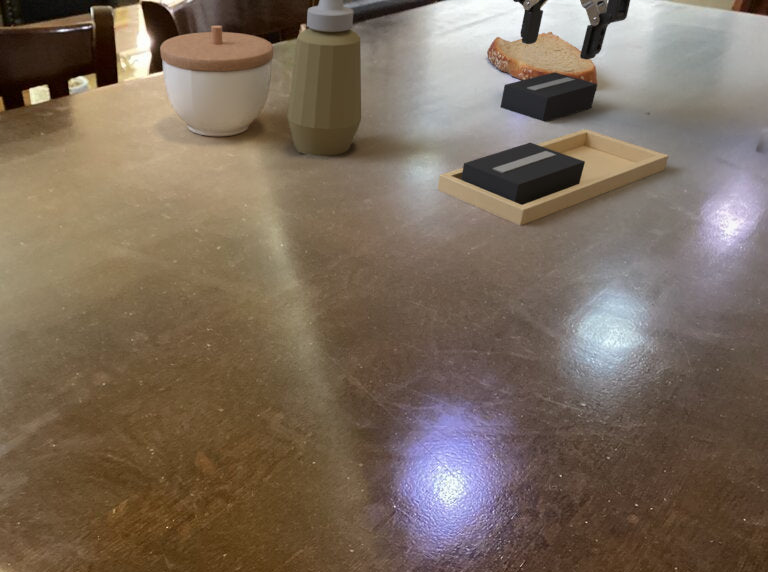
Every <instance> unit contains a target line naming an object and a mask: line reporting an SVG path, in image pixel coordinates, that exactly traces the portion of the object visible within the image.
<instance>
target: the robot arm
mask: <svg viewBox="0 0 768 572" xmlns="http://www.w3.org/2000/svg"><path fill="white" fill-rule="evenodd" d="M512 1H513V2H514V3H519V4H520V5H521V6H522V8H523V9H524V12H523V17H522V22H521V23H522V24H521V28H520V38H521V39H522V43H525V44H531V43H535V42H536V41H537V38H538V35H539V34H540V29H541V24H542V19H543V14H544V10H543V9H541V8H542V7H543V6H544V5H546V3H547V2H549V0H512ZM579 2H580V4H581V5H580V6H581V7H582V8H583V9H584V10H585V11H586V15H587V19H588V21H589V24H588V25H587V26H586V31H585V35H584V38H583V43H582V46H581V50H580V51H581V54H580V57H581V58H582V59H586V60H587V59H590V60H592V59H594V58H596V55H598V54H600V52H601V51H602V48H603V44H604V41H605V37H606V32H607V28H608V27H609V25H610V24H612V23H618V22H622V21H625V20H626V19H627V17H628V13H629V8H630V3H631V0H579Z"/></svg>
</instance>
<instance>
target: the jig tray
mask: <svg viewBox="0 0 768 572" xmlns="http://www.w3.org/2000/svg"><path fill="white" fill-rule="evenodd" d="M535 144H536V143H535ZM536 145H539V146H542V147H545V148H547V149H550V150H553V151H556V152H559V153H562V154H565V155H568V156H570V157H573V158H576V159H579V160H582V161H585V164H584V168H583V171H582V175H581V179H580V183H579V184H578V185H575V186H572V187H569V188H567V189H564V190H561V191H559V192H556V193H553V194H551V195H548V196H545V197H542V198H540V199H537V200H534V201H532V202H529V203H526V204H523V205H521V204H518V203H516V202H513V201H511V200H509V199H506V198H504V197H501V196H499V195H496V194H494V193H492V192H489V191H487V190H484V189H482V188H479V187H477V186H475V185H472V184H470V183H467V182H465V181H462V180H461V178H462V172H463V167H460V168H457V169H454V170H451V171H448V172H445V173H442V174H439V179H438V185H437V191H438V192H441V193H444V194H446V195H448V196H451V197H452V198H455V199H457V200H460V201H462V202H465V204H466V203H467V204H469V205H470V206H471V205H472V206H473V207H476V208H477V209H481V210H483V211H485V212H488V213H489V214H491V215H494V216H497V217H499V218H501V219H503V220H506V221H508V222H511V223H512V224H515V225H517V226H523V225H526V224H529V223H532V222H534V221H536V220H539V219H541V218H544V217H546V216H549V215H552V214H554V213H557V212H560V211H562V210H564V209H567V208H570V207H573V206H575V205H578V204H581V203H583V202H586V201H588V200H590V199H593V198H596V197H598V196H601V195H603V194H606V193H608V192H611V191H614V190H616V189H619V188H621V187H624V186H626V185H630V184H631V183H632V184H633V183H634V182H637V181H640V180H642V179H645V178H647V177H651V176H653V175H654V174H658V173H660V172H662V171H664V170H665V169H666V166H667V162H668V159H669V156H670V155H669V154H665V153H662V152H659V151H656V150H653V149H649V148H647V147H644V146H640V145H637V144H635V143H634V144H633V143H631V142H629V141H628V142H627V141H624V140H621V139H618V138H615V137H612V136H610V135H609V136H608V135H606V134H603V133H599V132H596V131H593V130H590V129H587V128H584V129H580V130H577V131H574V132H572V133H568V134H565V135H562V136H559V137H555V138H552V139H550V140H546V141H542V142H540V143H537V144H536Z"/></svg>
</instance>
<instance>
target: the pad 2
mask: <svg viewBox="0 0 768 572" xmlns="http://www.w3.org/2000/svg"><path fill="white" fill-rule="evenodd" d="M584 164H585V161H582V160H579V159H576V158H573V157H570V156H568V155H565V154H562V153H559V152H556V151H553V150H550V149H547V148H545V147H542V146H539V145H536V143H533V142H527V143H525V144H524V143H523V144H521V145H518V146H515V147H512V148H507V149H505V150H502V151H501V150H500V151H499V152H495V153H492V154H488V155H485V156H482V157H479V158H476V159H473V160H470V161H466V162H463V167H462V168H463V172H462V178H461V180H462V181H465V182H467V183H470V184H472V185H475V186H477V187H479V188H482V189H484V190H487V191H489V192H492V193H494V194H496V195H499V196H501V197H504V198H506V199H509V200H511V201H513V202H516V203H518V204H521V205H523V204H526V203H529V202H532V201H534V200H537V199H540V198H542V197H545V196H548V195H551V194H553V193H556V192H559V191H561V190H564V189H567V188H569V187H572V186H575V185H578V184H579V183H580V179H581V175H582V171H583V168H584Z"/></svg>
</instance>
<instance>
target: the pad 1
mask: <svg viewBox="0 0 768 572" xmlns="http://www.w3.org/2000/svg"><path fill="white" fill-rule="evenodd" d="M597 87H598V83H597V84H596V83H592V82H588V81H585V80H581V79H577V78H574V77H570V76H566V75H563V74H559V73H555V72H554V73H550V74H546V75H542V76H538V77H534V78H530V79H526V80H518V81H515V82H510V83H506V84H504V87H503V91H502V97H501V103H500V108H501V109H504V110H507V111H510V112H513V113H516V114H519V115H522V116H526V117H529V118H531V119H534V120H537V121H540V122H544V123H546V122H549V121H553V120H555V119H558V118H563V117H566V116H569V115H572V114H576V113H579V112H582V111H587V110H589V109H592V107H593V104H594V100H595V96H596V92H597V89H598V88H597Z"/></svg>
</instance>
